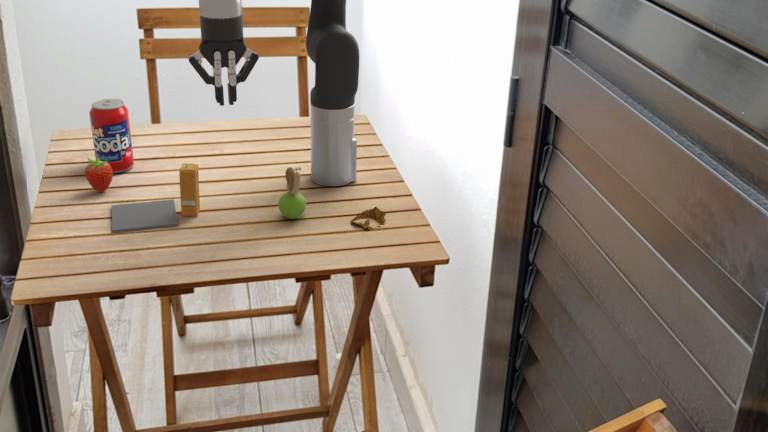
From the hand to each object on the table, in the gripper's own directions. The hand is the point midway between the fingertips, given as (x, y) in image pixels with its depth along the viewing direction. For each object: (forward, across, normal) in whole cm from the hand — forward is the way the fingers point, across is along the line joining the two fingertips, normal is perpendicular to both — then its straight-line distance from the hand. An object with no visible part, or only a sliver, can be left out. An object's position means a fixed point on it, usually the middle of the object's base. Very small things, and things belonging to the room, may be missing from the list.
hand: (226, 103), depth 157 cm
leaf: (+23, -25, +12) cm, 36 cm away
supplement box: (+22, +8, 0) cm, 24 cm away
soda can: (+22, +22, -26) cm, 41 cm away
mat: (+22, +17, 0) cm, 28 cm away
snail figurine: (+22, -11, +7) cm, 26 cm away
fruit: (+22, +25, -14) cm, 36 cm away
